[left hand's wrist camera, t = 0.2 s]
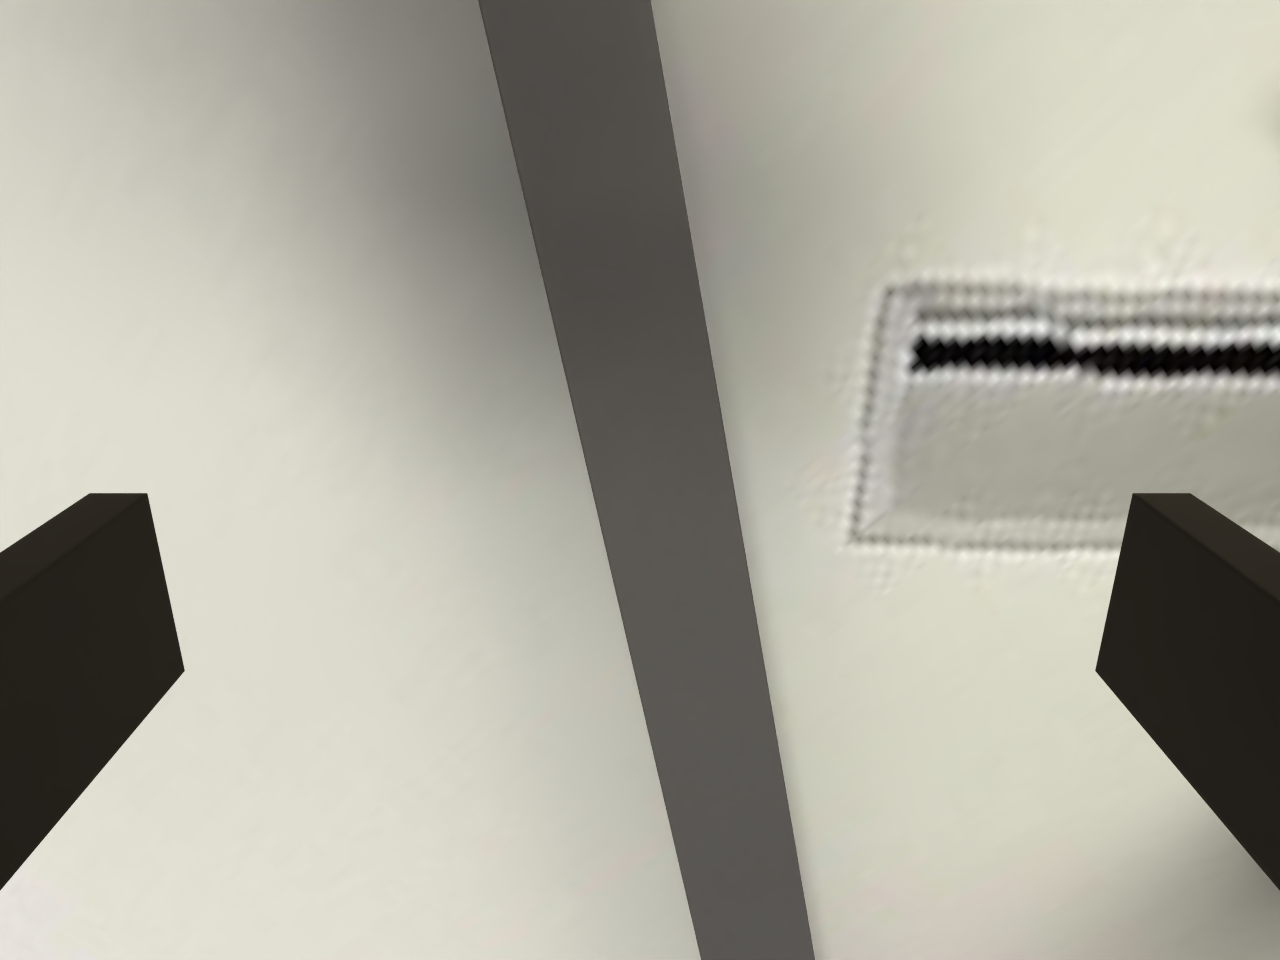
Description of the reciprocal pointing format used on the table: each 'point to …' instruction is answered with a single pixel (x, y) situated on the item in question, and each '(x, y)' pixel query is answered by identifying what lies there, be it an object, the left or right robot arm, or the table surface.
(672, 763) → the bar
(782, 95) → the table surface
